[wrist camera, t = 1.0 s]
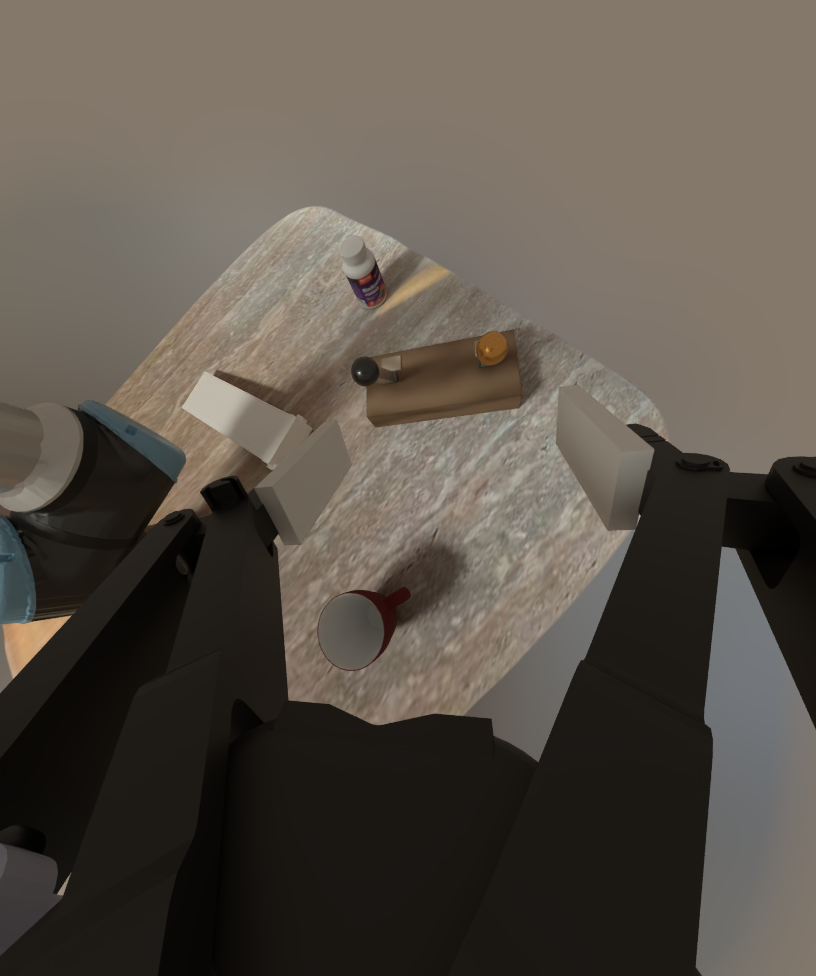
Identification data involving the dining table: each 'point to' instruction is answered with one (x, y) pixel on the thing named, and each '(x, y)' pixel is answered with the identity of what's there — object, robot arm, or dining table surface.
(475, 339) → the switch box
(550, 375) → the dining table surface
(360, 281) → the pill bottle
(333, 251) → the dining table surface
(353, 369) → the black knob lever
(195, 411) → the wall bracket
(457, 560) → the dining table surface
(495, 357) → the orange knob lever
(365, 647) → the mug
